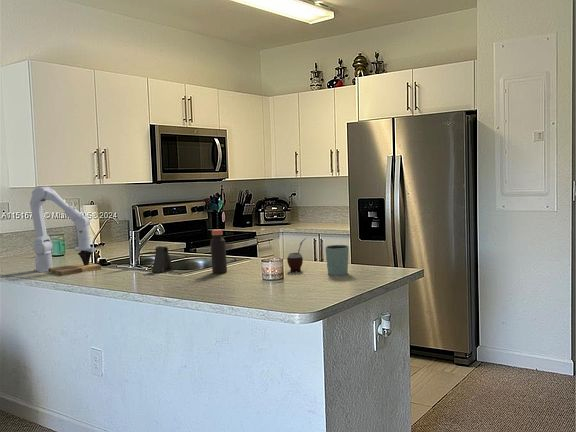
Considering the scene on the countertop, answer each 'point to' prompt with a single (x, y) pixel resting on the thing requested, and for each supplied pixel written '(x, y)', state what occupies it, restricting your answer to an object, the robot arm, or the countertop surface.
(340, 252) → the grey-green cup
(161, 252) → the door stopper
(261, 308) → the countertop surface
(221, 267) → the bottle
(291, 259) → the mate gourd
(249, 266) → the countertop surface
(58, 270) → the walnut plank
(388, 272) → the countertop surface
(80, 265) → the oak plank
